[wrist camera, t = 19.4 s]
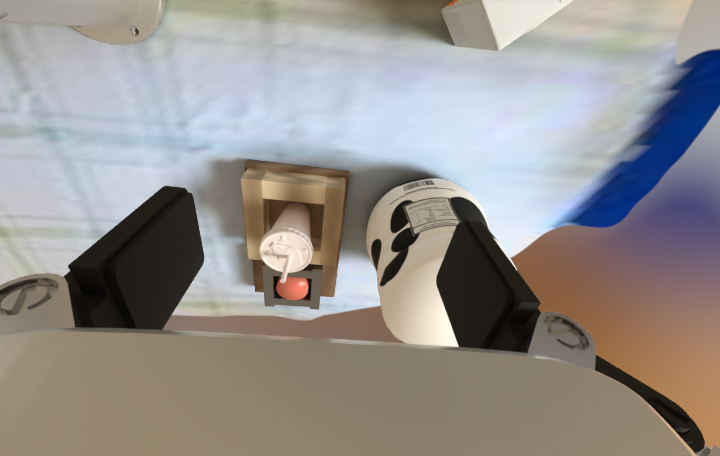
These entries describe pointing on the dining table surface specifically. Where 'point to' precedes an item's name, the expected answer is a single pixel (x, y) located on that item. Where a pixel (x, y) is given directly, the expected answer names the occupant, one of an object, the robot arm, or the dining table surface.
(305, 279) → the button
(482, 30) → the skincare box
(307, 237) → the smoothie
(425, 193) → the milk container
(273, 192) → the wooden tray with button
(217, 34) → the dining table surface
